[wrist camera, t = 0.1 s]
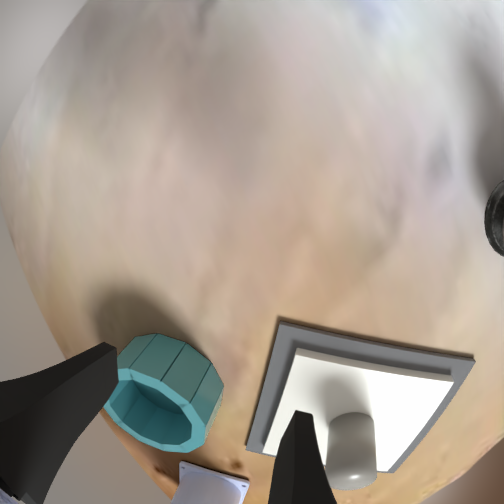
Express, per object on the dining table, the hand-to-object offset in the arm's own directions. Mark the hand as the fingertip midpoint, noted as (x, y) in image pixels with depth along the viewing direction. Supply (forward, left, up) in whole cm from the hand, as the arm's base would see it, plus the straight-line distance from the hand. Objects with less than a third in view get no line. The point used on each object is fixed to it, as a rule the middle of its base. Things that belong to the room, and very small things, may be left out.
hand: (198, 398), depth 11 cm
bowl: (-10, +5, -10) cm, 16 cm away
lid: (-9, -10, -10) cm, 17 cm away
